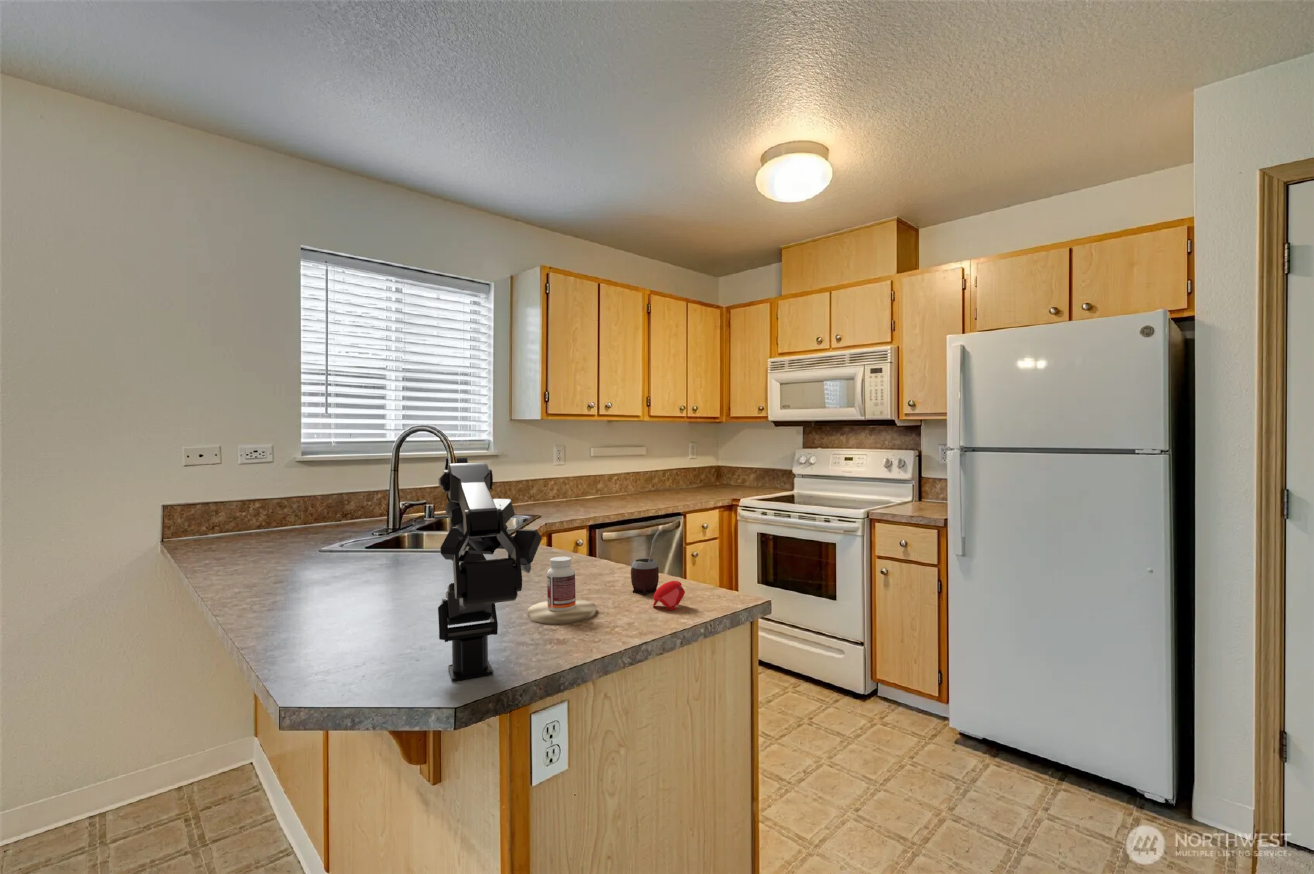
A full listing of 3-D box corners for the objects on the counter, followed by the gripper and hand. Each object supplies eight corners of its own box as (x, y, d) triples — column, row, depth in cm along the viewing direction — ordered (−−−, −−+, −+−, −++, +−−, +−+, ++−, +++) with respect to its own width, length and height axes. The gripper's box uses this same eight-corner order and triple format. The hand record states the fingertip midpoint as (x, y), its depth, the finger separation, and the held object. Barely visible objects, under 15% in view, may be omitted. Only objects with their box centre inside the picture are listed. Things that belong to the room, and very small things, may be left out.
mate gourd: (630, 596, 145) (629, 535, 145) (632, 587, 153) (631, 530, 153) (660, 595, 145) (659, 534, 145) (661, 587, 153) (660, 529, 153)
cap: (689, 589, 138) (668, 575, 139) (688, 587, 132) (666, 572, 134) (670, 619, 136) (649, 604, 137) (668, 618, 130) (646, 602, 132)
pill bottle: (581, 606, 132) (580, 557, 132) (563, 613, 127) (562, 562, 127) (559, 603, 135) (559, 554, 135) (541, 609, 130) (540, 559, 130)
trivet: (605, 617, 128) (605, 612, 128) (537, 628, 121) (536, 622, 121) (584, 600, 141) (583, 595, 141) (521, 609, 135) (521, 604, 135)
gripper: (535, 486, 107) (564, 537, 117) (449, 485, 112) (483, 533, 123) (512, 536, 99) (546, 586, 110) (421, 532, 105) (460, 580, 115)
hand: (508, 569), depth 115 cm, fingers open, 9 cm apart
